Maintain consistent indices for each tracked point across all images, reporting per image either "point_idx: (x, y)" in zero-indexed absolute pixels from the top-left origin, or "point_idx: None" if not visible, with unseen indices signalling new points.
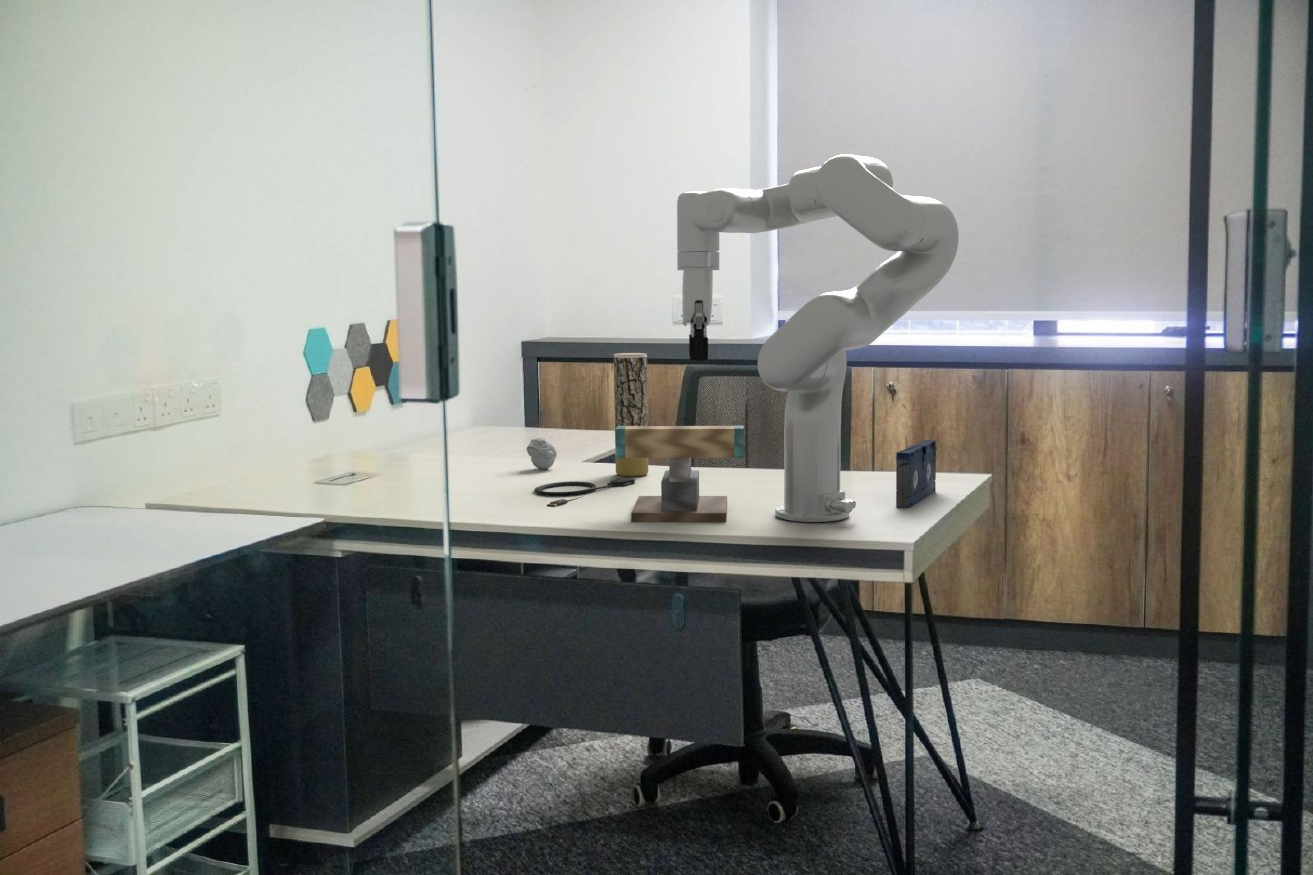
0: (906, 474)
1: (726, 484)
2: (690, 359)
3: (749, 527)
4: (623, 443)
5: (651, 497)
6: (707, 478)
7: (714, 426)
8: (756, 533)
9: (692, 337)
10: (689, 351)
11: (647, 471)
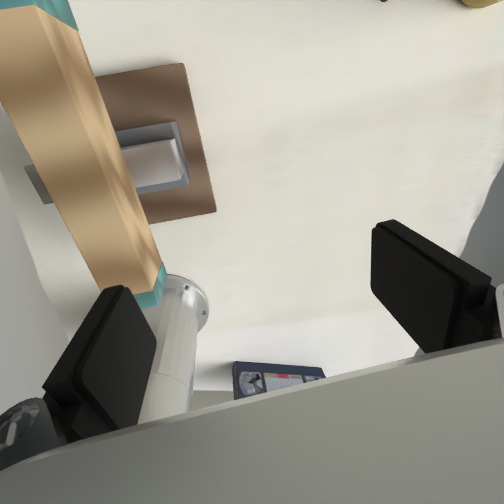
0: (234, 397)
1: (366, 177)
2: (105, 289)
3: (78, 261)
4: None
5: (174, 92)
6: (420, 137)
7: (129, 258)
8: (47, 274)
9: (21, 410)
10: (388, 230)
11: (475, 7)
